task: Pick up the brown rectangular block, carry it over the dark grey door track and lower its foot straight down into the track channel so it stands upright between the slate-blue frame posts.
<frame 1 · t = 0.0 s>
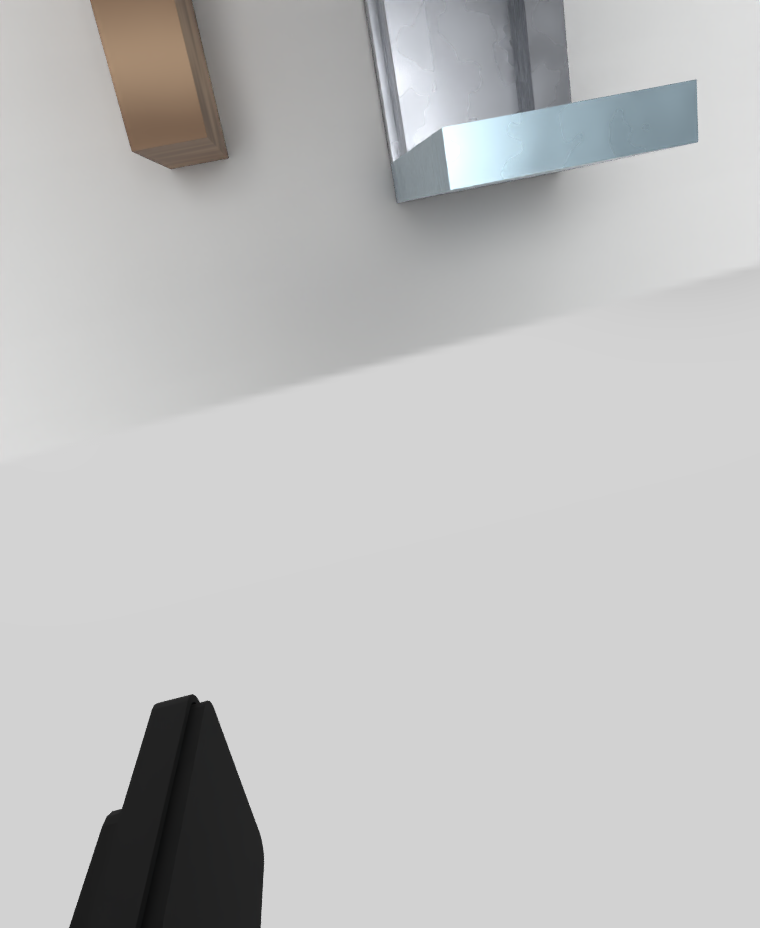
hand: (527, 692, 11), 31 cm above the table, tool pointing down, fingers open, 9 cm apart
brown rectangular block: (161, 8, 34), on the table
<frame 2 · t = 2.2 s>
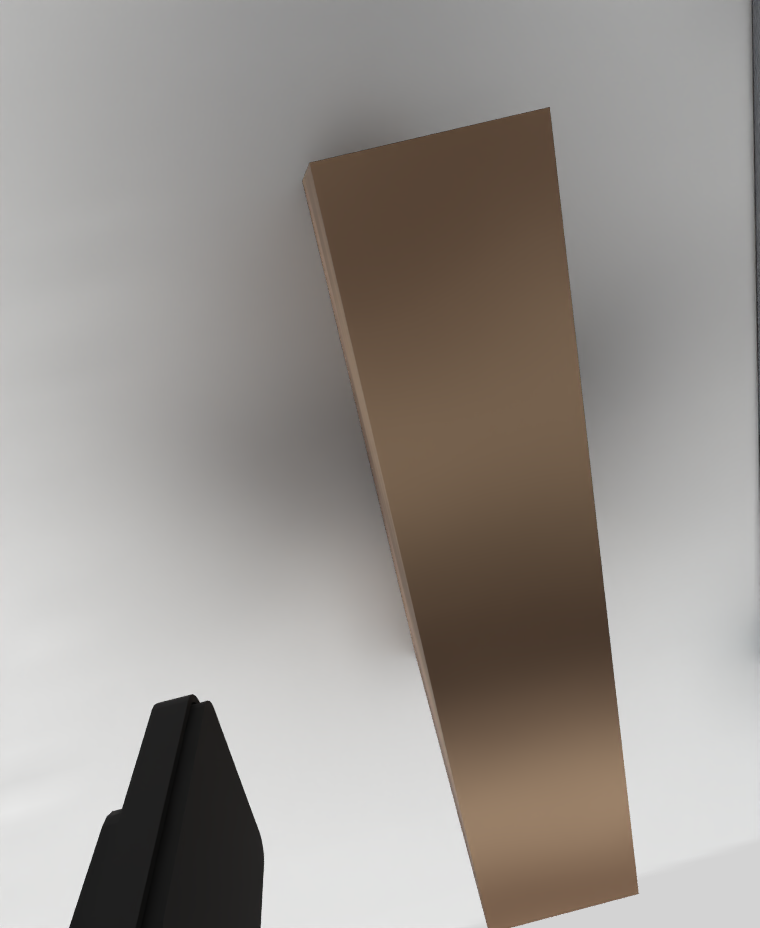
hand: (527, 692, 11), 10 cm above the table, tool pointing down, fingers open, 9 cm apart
brown rectangular block: (419, 435, 19), on the table
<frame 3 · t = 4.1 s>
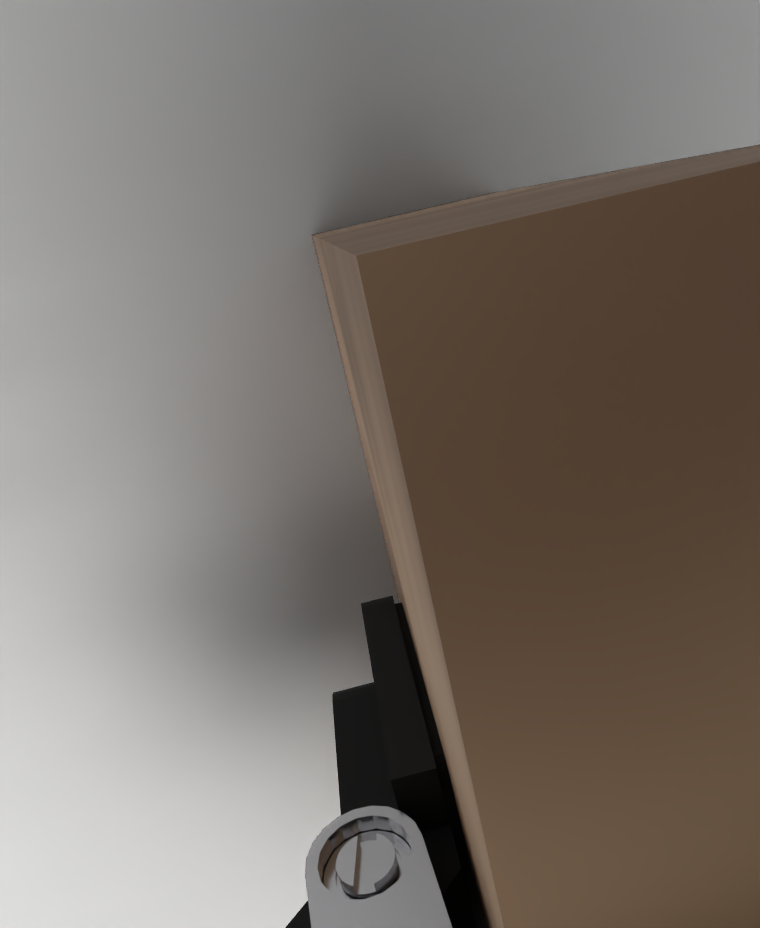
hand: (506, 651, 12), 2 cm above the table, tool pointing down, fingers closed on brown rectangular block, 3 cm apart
brown rectangular block: (476, 590, 14), on the table, touching gripper
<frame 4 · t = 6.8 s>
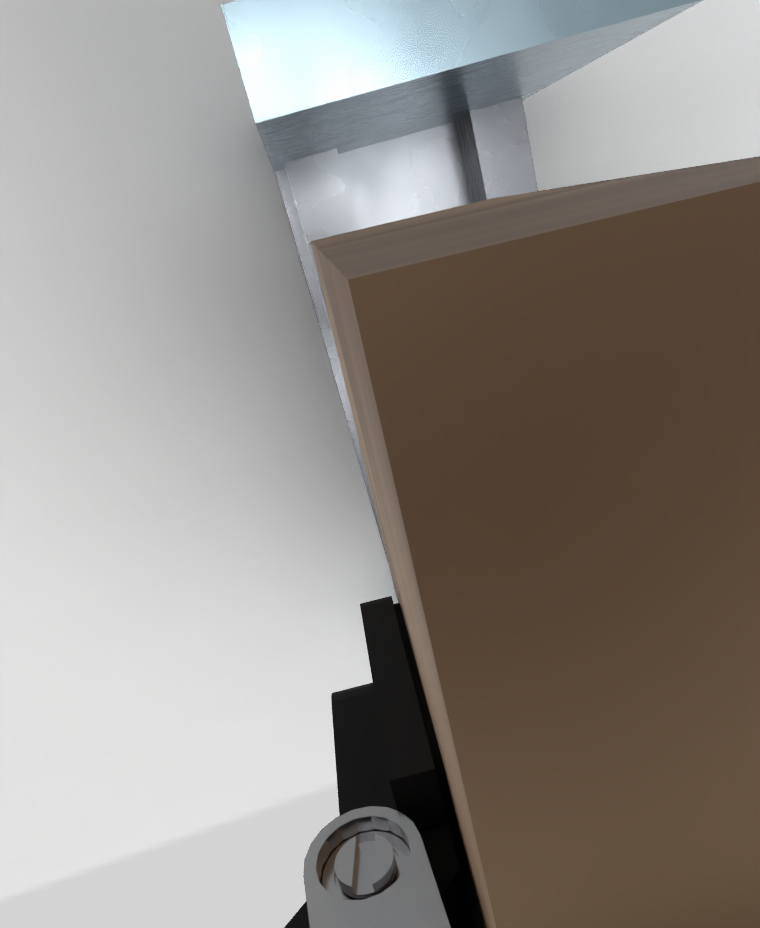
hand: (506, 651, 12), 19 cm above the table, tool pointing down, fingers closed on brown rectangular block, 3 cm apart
brown rectangular block: (476, 594, 14), point 17 cm above the table, touching gripper
door track: (443, 368, 30), on the table
when the fingers open (4 cm above the table, at t = 9.5 s): brown rectangular block drops 1 cm, resting on door track.
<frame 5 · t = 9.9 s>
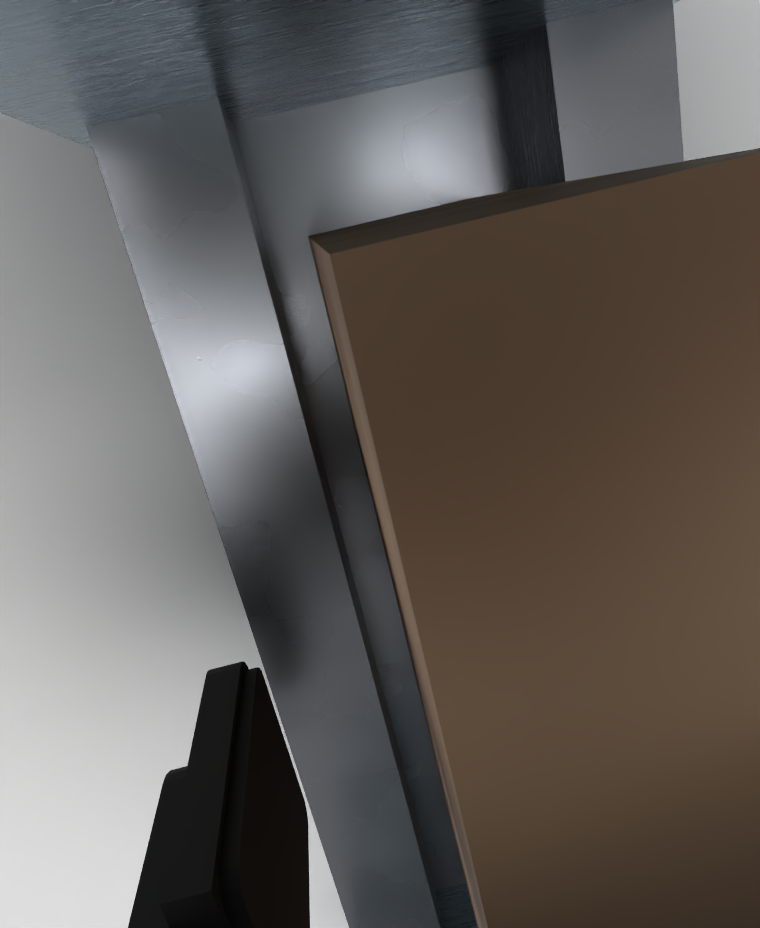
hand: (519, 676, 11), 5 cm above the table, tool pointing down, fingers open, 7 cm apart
brown rectangular block: (459, 558, 15), point 1 cm above the table, touching door track
door track: (451, 538, 16), on the table
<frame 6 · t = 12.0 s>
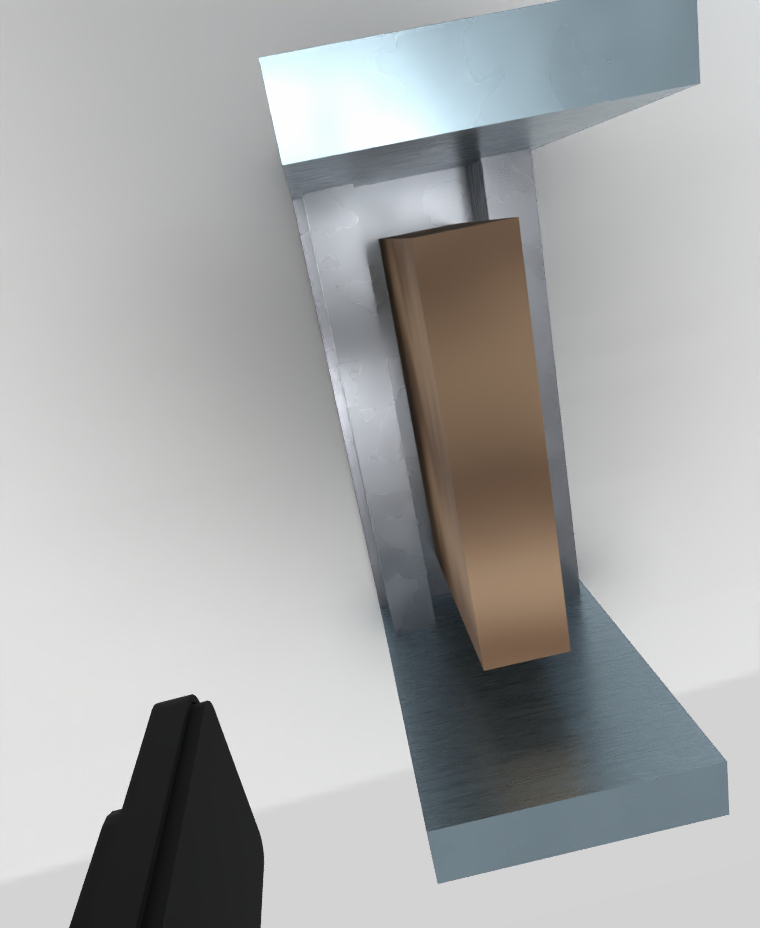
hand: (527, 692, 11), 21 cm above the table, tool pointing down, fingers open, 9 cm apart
brown rectangular block: (443, 402, 30), point 1 cm above the table, touching door track
door track: (440, 396, 31), on the table
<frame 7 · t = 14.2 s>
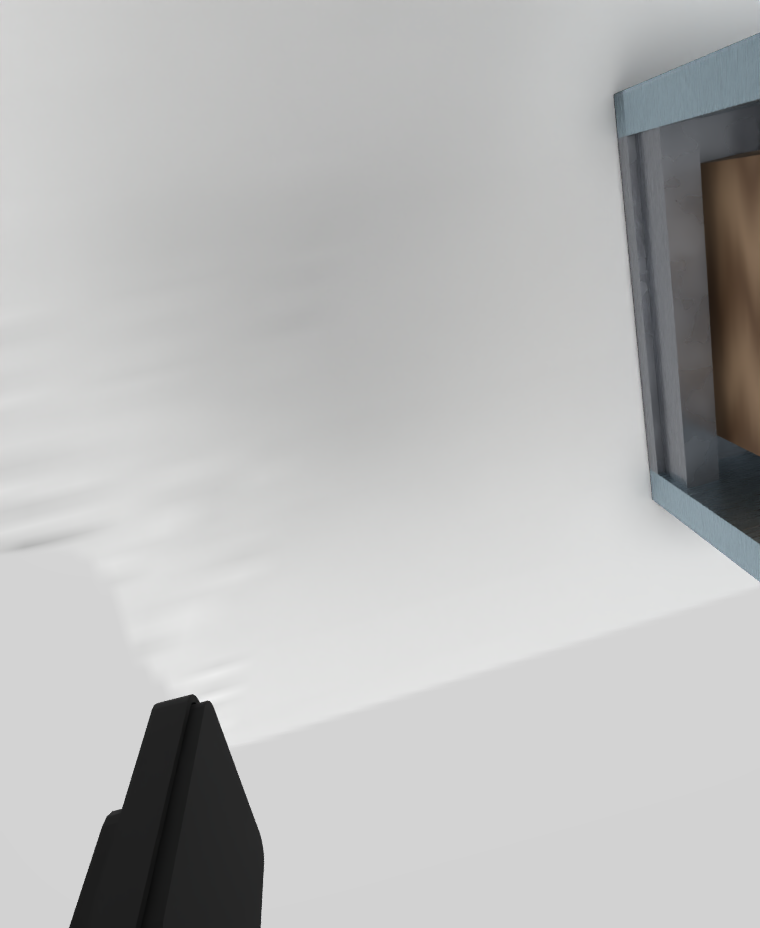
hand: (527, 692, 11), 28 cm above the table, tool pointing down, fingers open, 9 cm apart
brown rectangular block: (724, 299, 37), point 1 cm above the table, touching door track
door track: (714, 297, 38), on the table
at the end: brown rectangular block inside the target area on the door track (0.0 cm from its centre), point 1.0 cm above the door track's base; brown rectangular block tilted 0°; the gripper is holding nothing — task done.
